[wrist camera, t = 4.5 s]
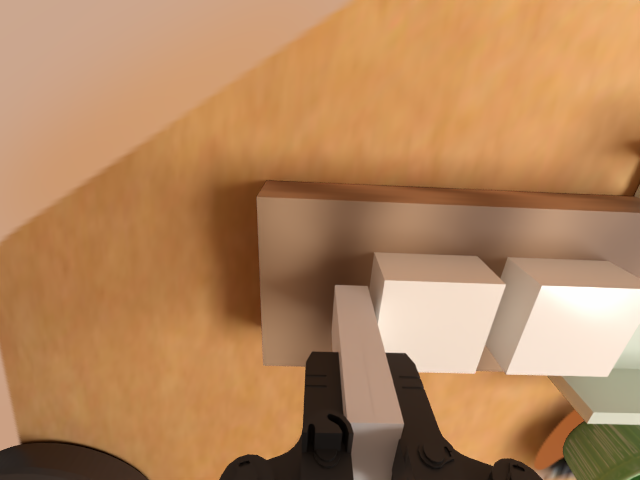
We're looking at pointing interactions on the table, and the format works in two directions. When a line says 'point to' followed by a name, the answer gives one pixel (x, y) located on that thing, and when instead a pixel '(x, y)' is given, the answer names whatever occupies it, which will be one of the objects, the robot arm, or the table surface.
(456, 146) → the table surface
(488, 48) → the table surface
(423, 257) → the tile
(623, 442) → the ramekin
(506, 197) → the walnut board
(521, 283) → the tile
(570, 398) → the tray
